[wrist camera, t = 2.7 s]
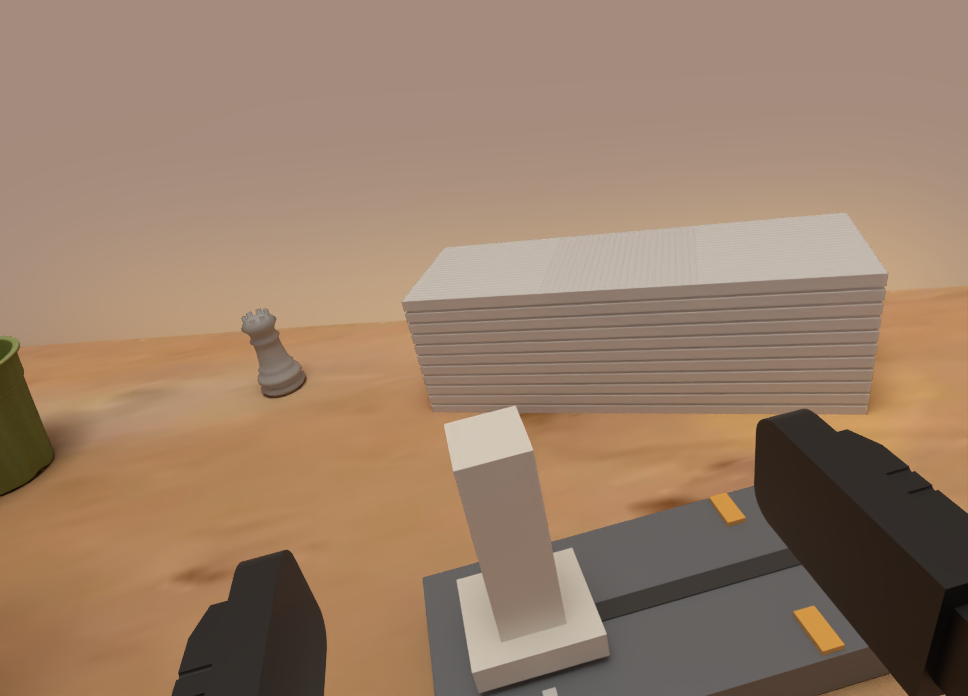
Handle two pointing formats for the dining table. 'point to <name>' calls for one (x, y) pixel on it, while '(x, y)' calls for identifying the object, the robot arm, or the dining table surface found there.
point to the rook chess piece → (272, 356)
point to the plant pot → (18, 423)
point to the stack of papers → (655, 321)
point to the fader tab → (516, 561)
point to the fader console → (681, 613)
